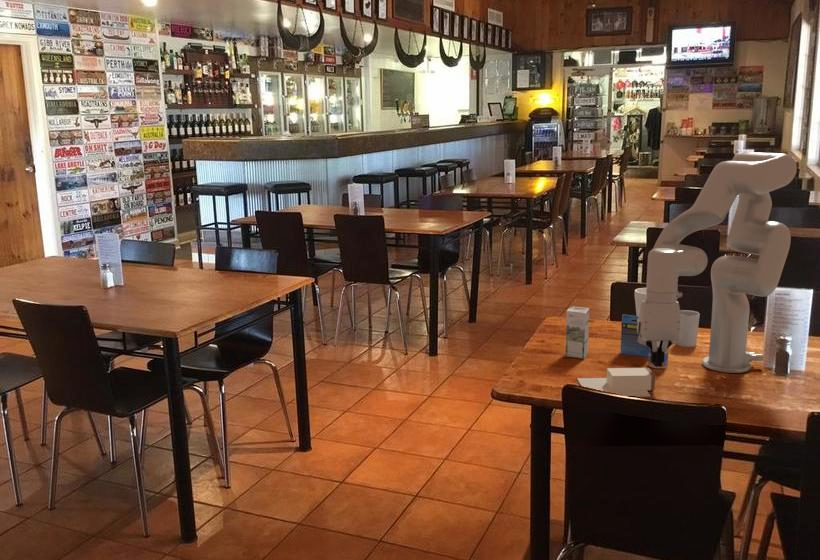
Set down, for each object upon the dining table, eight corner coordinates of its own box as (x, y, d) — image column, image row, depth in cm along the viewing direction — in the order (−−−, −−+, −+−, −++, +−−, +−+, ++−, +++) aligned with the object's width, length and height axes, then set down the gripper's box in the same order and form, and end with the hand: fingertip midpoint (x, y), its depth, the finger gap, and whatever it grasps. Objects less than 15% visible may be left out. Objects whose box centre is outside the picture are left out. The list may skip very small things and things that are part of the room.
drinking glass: (699, 347, 228) (702, 316, 225) (677, 347, 229) (679, 315, 226) (695, 341, 234) (697, 310, 232) (673, 340, 235) (675, 310, 233)
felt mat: (636, 378, 202) (636, 377, 202) (650, 396, 189) (650, 395, 189) (577, 379, 202) (577, 378, 202) (587, 397, 190) (587, 395, 190)
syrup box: (588, 353, 224) (589, 307, 221) (584, 359, 219) (585, 312, 215) (569, 351, 226) (570, 305, 223) (564, 357, 221) (566, 310, 218)
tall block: (648, 367, 198) (606, 368, 198) (655, 375, 192) (612, 375, 192) (647, 382, 198) (606, 382, 199) (654, 390, 193) (611, 390, 193)
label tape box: (652, 353, 223) (654, 314, 220) (650, 357, 219) (652, 317, 216) (622, 350, 227) (624, 311, 224) (619, 354, 223) (621, 314, 220)
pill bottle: (643, 364, 214) (645, 331, 212) (659, 361, 216) (661, 329, 213) (656, 370, 209) (657, 336, 207) (671, 367, 211) (673, 334, 208)
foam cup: (643, 323, 254) (645, 286, 252) (667, 329, 248) (670, 291, 245) (627, 328, 249) (629, 291, 246) (651, 334, 242) (653, 295, 239)
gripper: (685, 293, 194) (680, 360, 198) (627, 293, 194) (624, 360, 198) (695, 300, 186) (690, 369, 190) (635, 300, 187) (632, 370, 191)
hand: (657, 364), depth 194 cm, fingers closed
